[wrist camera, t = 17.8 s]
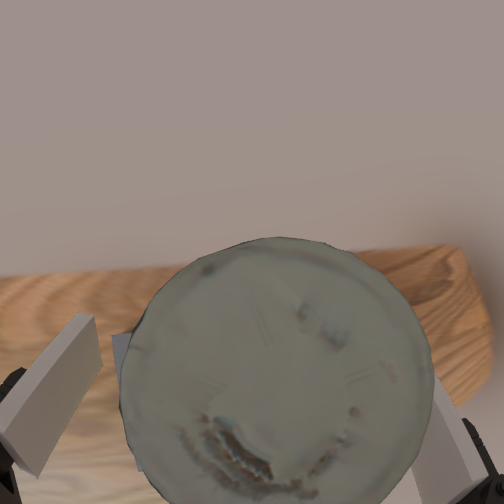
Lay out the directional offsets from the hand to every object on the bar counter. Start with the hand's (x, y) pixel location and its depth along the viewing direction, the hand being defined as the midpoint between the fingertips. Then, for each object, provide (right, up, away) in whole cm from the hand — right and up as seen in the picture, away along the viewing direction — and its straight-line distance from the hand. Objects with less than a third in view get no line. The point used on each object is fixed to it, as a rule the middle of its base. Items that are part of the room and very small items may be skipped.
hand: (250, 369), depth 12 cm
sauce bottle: (-1, -5, +10) cm, 11 cm away
